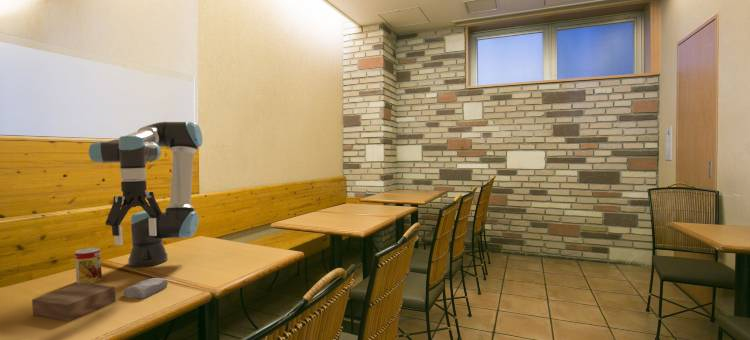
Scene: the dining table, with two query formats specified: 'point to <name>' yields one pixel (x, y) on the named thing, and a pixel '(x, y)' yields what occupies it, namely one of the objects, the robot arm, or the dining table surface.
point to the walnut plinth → (73, 301)
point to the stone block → (145, 288)
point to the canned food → (88, 265)
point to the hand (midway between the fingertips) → (136, 240)
